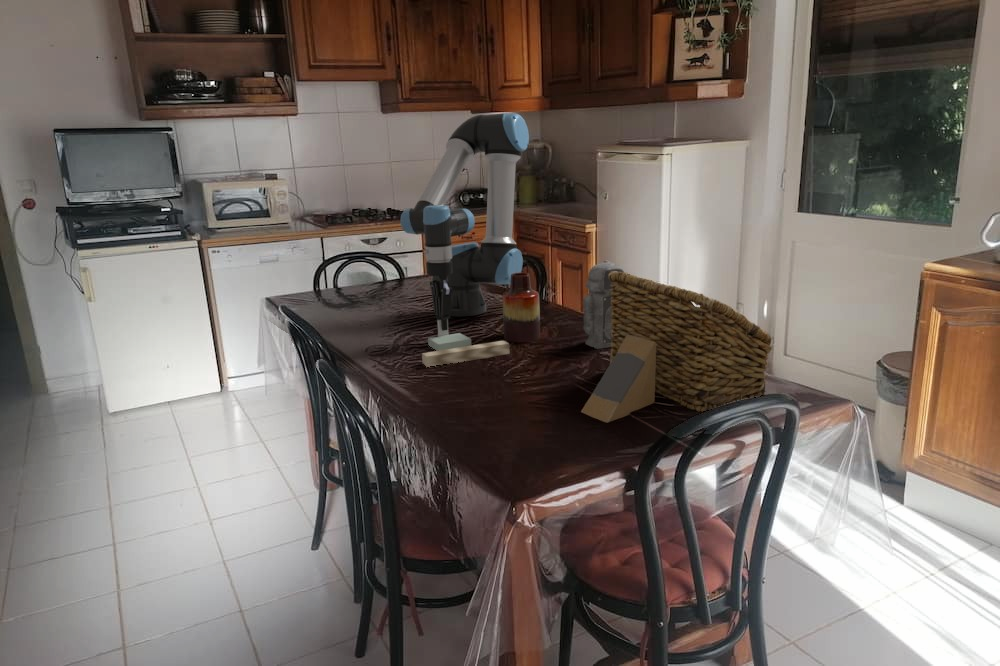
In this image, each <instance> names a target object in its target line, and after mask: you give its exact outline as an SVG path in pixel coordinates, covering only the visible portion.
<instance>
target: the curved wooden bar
mask: <svg viewBox="0 0 1000 666" xmlns="http://www.w3.org/2000/svg"><path fill="white" fill-rule="evenodd" d="M510 353H511V352H510V343H509V341H508V342H507V340H498V341H492V342H485V343H478V344H473V345H472V344H471V346H465V347H459V348H453V349H446V350H440V351H435V350H434V351H428V352H422V353H421V358H422V365H423V364H424V365H425V366H426V367H425V366H424V365H423V366H424V367H425V368H427V367H429V368H431V367H430V366H435V367H437V366H436V365H441V366H444V365H443V364H447V365H451V364H450V363H453V364H457V363H458V362H459V363H463V362H464V361H465V362H469V361H475V360H481V359H487V358H493V357H500V356H503V355H504V356H505V355H510Z"/></svg>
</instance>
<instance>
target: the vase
mask: <svg viewBox="0 0 1000 666" xmlns="http://www.w3.org/2000/svg"><path fill="white" fill-rule="evenodd" d="M509 286H510V287H509V288H510V289H509V290H507V291H505V292H503V294H502V319H503V320H502V321H503V322H502V323H503V339H504V341H506V342H507V341H508V342H510V343H511V342H512V343H520V344H521V343H530V342H531V343H532V342H535V341H538V340H540V339H541V321H540V320H541V316H540V315H541V314H540V312H541V310H540V294H539V292H538V291H536V290H534V289H532V286H531V278H530V273H528V272H521V273H513V274H511V284H509Z"/></svg>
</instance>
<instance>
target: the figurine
mask: <svg viewBox="0 0 1000 666" xmlns="http://www.w3.org/2000/svg"><path fill="white" fill-rule="evenodd" d="M612 271H617V272H625V271H624V270H623V268H622V267H621V266H620V264H617V263H614V262H611V261H609V260H607V259H606V260H604V261H603V262H600V263H597V264H595V265H593V266H592V267H591V268H590V269H589V272H588V276H587V281H586V284H585V288H586V289H588V294H587V295H585V296H584V297H583V299H582V307H583V308H582V309H583V326H582V329H583V330H584V332H585V334H587V335H588V338H587V339H586V340H585V345H587V346H589V347H590V348H593V347H594V349H596V350H601V349H604V348H605V349H606V348H612V347H611V342H612V339H611V336H612V335H611V333H612V332H611V328H612V326H611V323H612V322H611V319H612V318H611V315H612V307H611V306H612V305H611V297H612V295H611V292H610V290H611V289H612V287H611V282H612V281H609V279H608V274H609V273H610V272H612Z"/></svg>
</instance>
